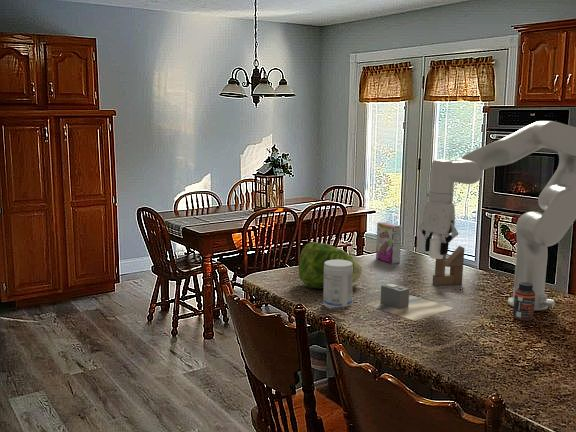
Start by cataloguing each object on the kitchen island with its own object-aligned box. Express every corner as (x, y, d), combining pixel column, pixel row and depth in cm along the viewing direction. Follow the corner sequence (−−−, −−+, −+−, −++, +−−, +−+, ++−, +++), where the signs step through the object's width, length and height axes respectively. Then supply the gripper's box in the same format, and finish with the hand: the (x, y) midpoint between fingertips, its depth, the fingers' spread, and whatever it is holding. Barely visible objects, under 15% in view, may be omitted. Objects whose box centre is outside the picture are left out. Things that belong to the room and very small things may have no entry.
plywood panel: (453, 311, 188) (454, 308, 187) (414, 324, 175) (414, 320, 175) (404, 296, 203) (405, 293, 203) (365, 307, 190) (365, 304, 190)
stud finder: (408, 306, 188) (409, 287, 187) (399, 309, 185) (400, 290, 184) (389, 300, 194) (390, 282, 193) (380, 303, 191) (381, 284, 190)
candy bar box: (375, 258, 259) (376, 222, 256) (383, 257, 261) (385, 221, 258) (391, 264, 249) (393, 226, 246) (400, 263, 252) (402, 225, 249)
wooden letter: (462, 284, 220) (465, 237, 217) (437, 286, 217) (439, 239, 214) (456, 281, 223) (459, 235, 220) (432, 283, 220) (434, 237, 217)
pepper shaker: (439, 256, 194) (442, 228, 192) (443, 259, 190) (446, 230, 188) (428, 256, 194) (430, 228, 192) (431, 259, 190) (433, 230, 188)
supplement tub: (341, 300, 198) (342, 257, 196) (357, 307, 190) (359, 264, 188) (317, 304, 193) (318, 260, 191) (333, 312, 185) (334, 267, 183)
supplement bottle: (520, 322, 179) (523, 286, 177) (508, 316, 184) (511, 281, 182) (537, 320, 180) (540, 285, 178) (524, 314, 186) (527, 280, 184)
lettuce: (355, 301, 217) (373, 277, 205) (295, 294, 210) (311, 269, 199) (348, 265, 228) (366, 240, 216) (292, 257, 221) (306, 231, 209)
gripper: (412, 195, 193) (408, 248, 196) (456, 202, 180) (451, 259, 183) (426, 194, 197) (422, 246, 200) (470, 200, 185) (465, 256, 188)
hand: (436, 252), depth 192 cm, fingers closed on pepper shaker, 5 cm apart
